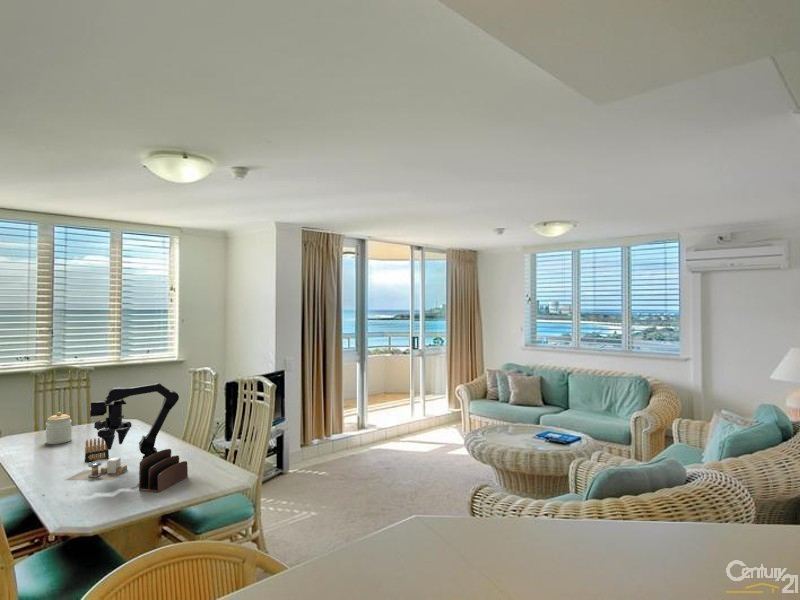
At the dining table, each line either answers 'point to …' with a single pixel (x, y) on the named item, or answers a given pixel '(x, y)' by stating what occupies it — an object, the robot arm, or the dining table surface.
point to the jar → (58, 429)
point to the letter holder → (161, 471)
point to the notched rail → (119, 469)
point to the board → (84, 476)
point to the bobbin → (94, 469)
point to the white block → (113, 465)
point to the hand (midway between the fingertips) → (115, 446)
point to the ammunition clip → (96, 451)
